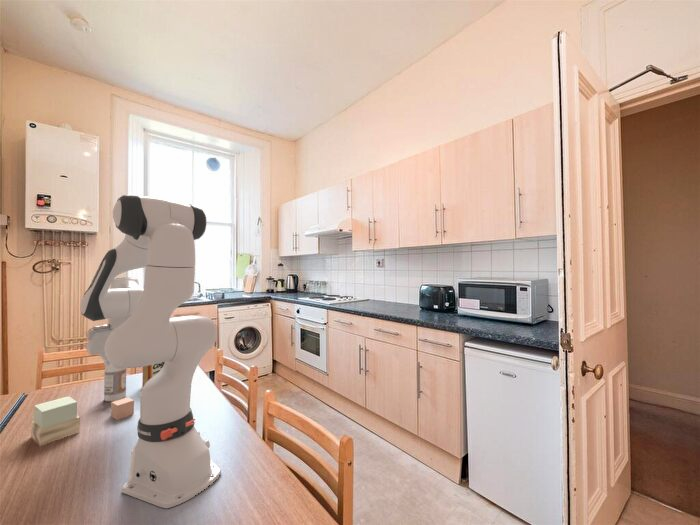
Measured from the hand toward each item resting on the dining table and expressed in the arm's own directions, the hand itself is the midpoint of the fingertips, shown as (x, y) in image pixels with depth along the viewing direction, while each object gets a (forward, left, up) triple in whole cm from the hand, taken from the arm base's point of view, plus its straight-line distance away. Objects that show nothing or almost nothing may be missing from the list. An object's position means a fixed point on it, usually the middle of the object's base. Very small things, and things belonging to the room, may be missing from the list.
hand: (123, 361), depth 108 cm
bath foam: (+19, -5, -19) cm, 27 cm away
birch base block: (+3, +17, -19) cm, 26 cm away
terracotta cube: (0, 0, -19) cm, 19 cm away
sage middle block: (+3, +17, -14) cm, 22 cm away
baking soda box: (+19, -21, -19) cm, 34 cm away
